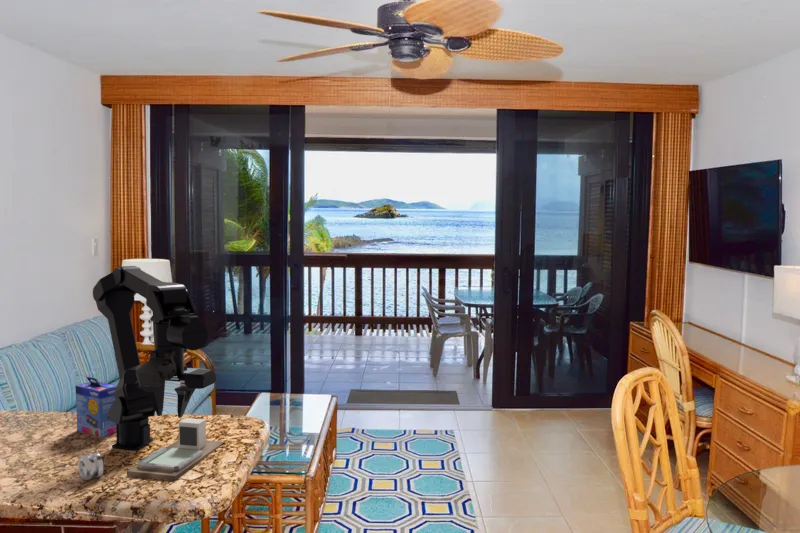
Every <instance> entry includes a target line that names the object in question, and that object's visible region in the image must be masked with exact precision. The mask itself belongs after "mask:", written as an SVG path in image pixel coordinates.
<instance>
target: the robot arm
mask: <svg viewBox="0 0 800 533" xmlns="http://www.w3.org/2000/svg"><path fill="white" fill-rule="evenodd" d="M137 294H138V295H139V296H141V297H143V298H144V299H146V300H145V305H146V307H148V308H149V309H150V310H151V312H152V313H153V315H151V317H150V321H151V322H154V326H153V327H154V349H152V350H150V352H149V359H148V360H147V361H145V362H144V363H143V364H142V365H141V362H140V361H141V360H140V356H139V351H138V346H137V343H136V338H135V333H134V328H133V323H132V318H131V312H132V310H133V307H134V304H135V303H136V302H135V301H136V300H135V296H136V295H137ZM92 297H93V299H94V301H95V304H96V307H97V309H98V310H97V311H99V312H100V313H101V315H103V316H104V317H105V318H106V319H107V323H108V326H109V332H110V338H111V342H112V347H113V352H114V358H115V362H116V366H117V370H118V371H117V374H118V377H119V380H118V382H117V385H116V386H117V387H116V390H115V401H114V402H113V404H112V406H111V408H110V409H109V411H108V413H109V419H110V421H112V422H114V423H116V433H115V434H116V436H115V437H116V443H113V444H112V445H111V448H112V449H121V450H123V449H124V450H134V451H135V450H136V451H137V450H138V449H141V448H143V447H144V446H147V444H150V443H151V442H153V441H154V439H153V438H151V424H150V423H149V418H151V417H154V416H155V414H156V415H157V417H161V416H162V415H163V412H164V403H165V402H164V399H165V389H166V382H179V383H180V384H179V386H178V387H174V389H173V390H174V391H175V394H177V410H176V411H177V418H178V419H180V418H183V417H184V415H185V411H186V409H187V407H188V404H189V403H190V400H191V398H192V396H193V394H194V392H195V391H196V389H197V390H202V389H206V388H207V387H209V386H211V385H214V384H215V383H217V375H216V373H215V372H214V369H206V368H205V369H203V368H197V369H195V370H192V371H190V372H186V371H188V365H186V364H185V363H184V362H185V361H184V360H185V359H184V356H185V354H184V353H186V352H188V350H189V351H198V350H200V349H202V348H203V347H204V346H205V344H206V342H207V341H208V336H209V332H208V330H207V328H206V326H205V325H204V324H203V323H201V322H200V319H199V316H198V313H197V311H196V310H197V307H196V305H195V303H194V302H193V299H192V297H191V296H190V292H189V291H188V289H187V288H186V286H185V285H184V284H182V283H177V282H171V281H170V282H169V281H162V280H160V279H158V278H156V277H155V276H153V275H151V274H149V273H147V272H145V270H142V269H141V268H140V267H139V266H137V265H126V266H125V265H124V266H123V265H121V266H118V267H115V268H114V269H113V270H112V272H111V273H109V274H107V275H104V276H103V277H101V278H100V279H98V281H97V282H96V284H95V285H94V287H93V288H92Z"/></svg>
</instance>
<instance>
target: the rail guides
mask: <svg viewBox="0 0 800 533" xmlns="http://www.w3.org/2000/svg"><path fill="white" fill-rule="evenodd" d="M166 447H167V446H162V447H160V448H159V449H157V450H155V451H154V452H153V451H152V452H151V453H150V454H148V455H146V457H144V458H141V459H140V460H139V461H137V465H138V467H139V468H141V469H150V470H160V471H170V472H174V471H180V470H181V469H183V468H184V467H186V466H187V465H189V464H190V463H191V462H193V461H194V460H196V459H197V458H199V457H200V456H202V450H199V451H197V452H196V453H194V454H193V455H191V456H190V457H188V458H187V459H185V460H184V461H182V462H181V463H179V464H178V465H176V466H175V465H165V464H155V463H148V462H150V461H152V460H153V459H155V458H157V457H158V456H160V455H162V454H163V453H165V452H166Z"/></svg>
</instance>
